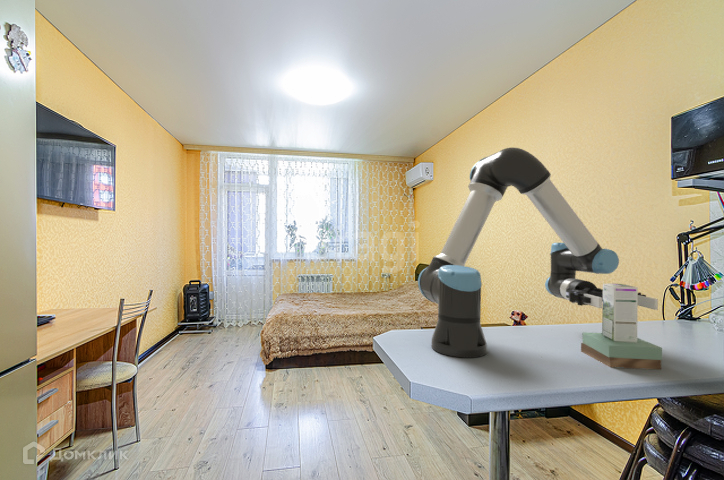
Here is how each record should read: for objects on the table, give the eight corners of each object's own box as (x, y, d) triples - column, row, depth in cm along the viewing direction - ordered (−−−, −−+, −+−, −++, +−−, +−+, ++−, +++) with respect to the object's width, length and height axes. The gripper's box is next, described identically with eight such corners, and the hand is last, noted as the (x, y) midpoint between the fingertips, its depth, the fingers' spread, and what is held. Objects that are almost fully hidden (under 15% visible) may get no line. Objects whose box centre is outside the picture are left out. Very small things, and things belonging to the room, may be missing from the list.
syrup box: (638, 343, 84) (639, 286, 84) (612, 341, 85) (614, 285, 85) (624, 337, 90) (625, 283, 90) (600, 335, 91) (601, 282, 91)
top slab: (609, 357, 82) (609, 345, 82) (582, 342, 94) (582, 332, 94) (661, 360, 81) (662, 347, 81) (628, 344, 93) (628, 334, 93)
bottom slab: (610, 369, 82) (610, 357, 82) (581, 353, 94) (581, 342, 94) (660, 371, 81) (661, 359, 81) (625, 354, 93) (625, 344, 93)
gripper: (619, 304, 105) (679, 319, 84) (538, 302, 106) (577, 316, 85) (619, 280, 105) (679, 290, 84) (539, 278, 107) (577, 287, 85)
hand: (628, 303), depth 84 cm, fingers open, 13 cm apart
